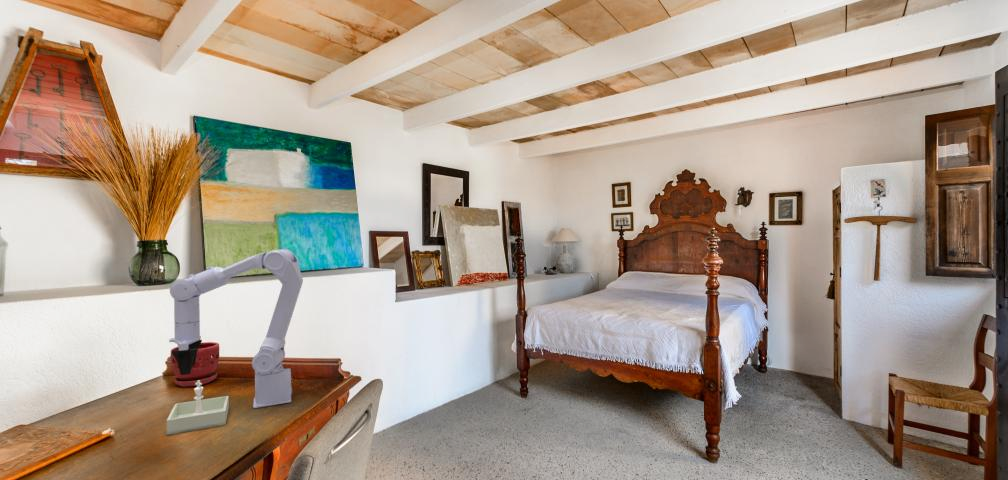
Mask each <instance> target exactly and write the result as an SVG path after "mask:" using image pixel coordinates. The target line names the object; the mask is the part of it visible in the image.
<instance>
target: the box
mask: <svg viewBox="0 0 1008 480" xmlns="http://www.w3.org/2000/svg"><path fill="white" fill-rule="evenodd" d="M229 397H230V396H229V395H225V396H217V397H211V398H205V399H203V398H202V399H201V403H202V409H203V411H204V412H206V413H204V414H198V415H193V414H194V413H195V409H196V401H197V400H192V401H190V400H189V401H183V402H178V403H175V404H174V406H173V407H172V409H171V411H170V412H169V416H168V417H167V419H166V422H165V423H166V436H169V435H170V436H171V435H176V434H181V433H188V432H193V431H199V430H206V429H210V428H211V429H212V428H216V427H222V426H223V427H224V426H226V425H227V419H228V415H229V414H228V413H229V410H230V406H229V405H230V403H229V399H230V398H229ZM191 415H192V416H191Z"/></svg>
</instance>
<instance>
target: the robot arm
mask: <svg viewBox="0 0 1008 480" xmlns="http://www.w3.org/2000/svg"><path fill="white" fill-rule="evenodd" d="M254 269H257V270H265V269H266V270H267V271H268V272H270V273H271V274H272V275H274V276H275V277H277V279H278V280H279V282H280V283H281V284H282V286H281V289H280V292H279V295H278V298H277V301H276V304H275V308H274V311H273V314H272V316H271V320H270V324H269V326H268V330H267V332H266V336H265V338H264V340H263V342H262V344H261V346H260V347H259V350H258V352H257V353H256V354H255V355H254V357H253V358H252V359H251V360H252V361H251V366H252V369H253V370H254V396H255V397H254V398H253V405H252V407H253V409H257V408H265V407H271V406H276V405H277V406H278V405H282V404H287V403H288V404H289V403H292V394H293V387H292V375H291V374H292V373H291V370H292V369H291V368H284V365H283V363H282V362H283V360H285V358H286V357H285V356H286V352H285V346H286V336H287V333H288V329H289V326H290V323H291V321H292V317H293V314H294V310H295V307H296V305H297V302H298V299H299V296H300V292H301V289H302V287H303V286H302V285H303V281H304V279H303V276H302V272H301V269H300V265H299V258H298V257H297V255H295V254H294V252H292V251H291V250H290V249H287V248H281V249H272V250H269V251H267V252H265V251H264V252H262V253H258V254H253V255H252V256H249V257H246V258H245V259H242V260H240V261H237V262H235V263H232V264H230V265H229V266H227V267H220V266H212V265H210V266H208V267H206V268H205V270H204V271H200V272H199V273H196V274H195V273H191V274H189V275H188V278H180V279H178V280H177V281H175V282H173V283H172V284H171V286H170V288H169V294H170V296H171V297H172V299H173V301H174V302H173V303H174V304H173V305H174V307H173V310H174V312H173V313H174V314H173V315H174V317H173V319H174V323H173V324H174V338H169V340H168V341H169V343H175V344H176V345H177V347H178V346H179V349H173V348H172V349H173V350H172V354H173V356H174V357H175V359H176V361H177V364H178V367H179V371H180V374H181V375H186V374H190V373H191V369H192V367H194V365H195V362H196V356H197V352H198V348H199V346H200V344H201V343H203V342H202V337H201V334H200V333H201V328H200V327H201V325H200V323H201V320H200V318H201V317H200V315H201V314H200V311H201V310H200V296H201V295H203V294H205V293H209V292H211V291H213V290H215V289H218V288H219V289H220V288H221V287H224V286H226V285H227V284H228V281H229V280H230V279H231V278H233V277H235V276H239V275H241V274H244V273H246V272H250V271H251V270H254ZM175 359H174V360H175Z"/></svg>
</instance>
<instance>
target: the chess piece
mask: <svg viewBox="0 0 1008 480" xmlns="http://www.w3.org/2000/svg"><path fill="white" fill-rule="evenodd" d="M195 385H196V387H195V388H193V391H194V393H195V396H194V397H193V400H195V401H196V409H195V413H194V414H193V415H198V414H204V413H206V412H204V411H203V409H202V403H201V400H202V399H203V398H204V395H202V393H203V390H204V387H203V386H202V385H203V384H202V383H200V380H198V381H197V383H195ZM191 416H192V415H191Z"/></svg>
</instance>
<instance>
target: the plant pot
mask: <svg viewBox="0 0 1008 480" xmlns="http://www.w3.org/2000/svg"><path fill="white" fill-rule="evenodd" d="M173 349H179V346H178V345H177V346H175V347H172V348H171V349H170V361H171V362H170V364H171V367H172V371H173V373H174V375H175V376H176V377H175V378H174V381H173V382H174V384H175V385H177V386H180V387H195V386H196V387H197V385H195V383H197V381H198V380H200V383H202V385H206V384H208V383H211V382H212V381H214V380H215V379H216V378H217V377H218V372H217V371H216V369H217V367H218V365H219V359H220V344H219V343H218V342H213V341H206V342H201V344H200V346H199V348H198V352H197V356H196V362H195V365H194V367H192V369H191V373H190V374H186V375H181V374H180V371H179V367H178V364H177V361H176V359H175V357H174V356H173V354H172V350H173Z"/></svg>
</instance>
